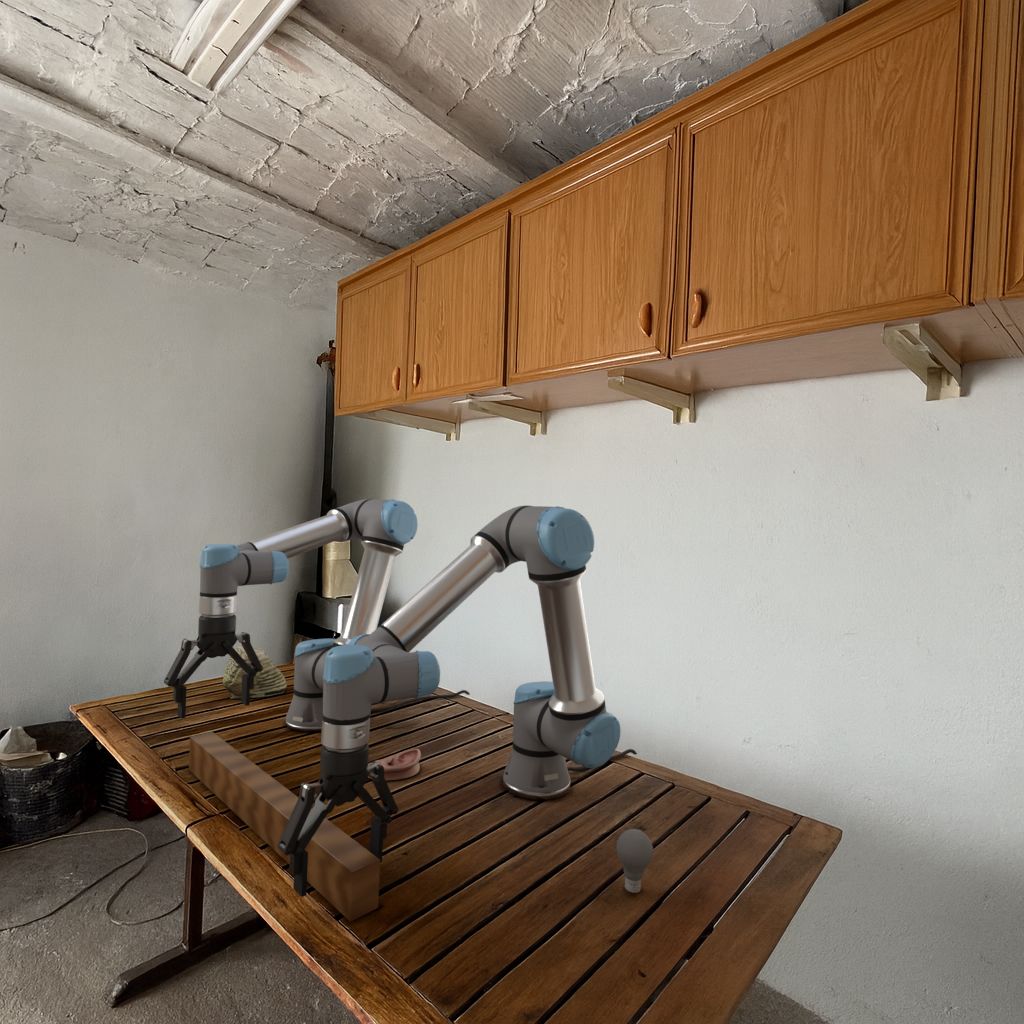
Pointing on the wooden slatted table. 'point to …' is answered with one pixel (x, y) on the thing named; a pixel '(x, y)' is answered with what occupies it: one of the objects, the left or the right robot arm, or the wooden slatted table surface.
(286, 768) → the wooden slatted table surface
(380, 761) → the anatomical model
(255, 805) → the bar
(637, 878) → the light bulb
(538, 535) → the right robot arm
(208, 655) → the left robot arm
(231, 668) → the fossil
